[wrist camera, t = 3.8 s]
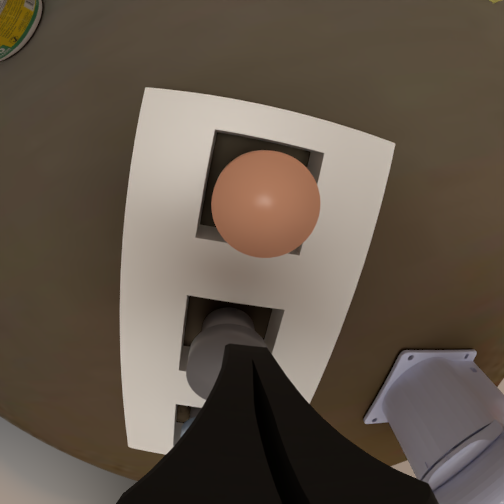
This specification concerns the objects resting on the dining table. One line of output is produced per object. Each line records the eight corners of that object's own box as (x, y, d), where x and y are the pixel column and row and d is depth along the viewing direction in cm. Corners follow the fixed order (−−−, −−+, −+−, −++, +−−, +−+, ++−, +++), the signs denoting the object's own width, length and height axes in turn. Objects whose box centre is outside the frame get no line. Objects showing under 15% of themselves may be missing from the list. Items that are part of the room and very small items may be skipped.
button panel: (373, 142, 16) (395, 143, 14) (275, 441, 23) (279, 464, 21) (157, 95, 14) (145, 87, 12) (134, 424, 22) (128, 447, 19)
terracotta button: (305, 159, 15) (331, 164, 11) (287, 236, 16) (305, 265, 12) (224, 142, 14) (222, 140, 10) (209, 222, 16) (203, 248, 12)
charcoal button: (270, 305, 17) (281, 348, 13) (255, 360, 18) (261, 408, 15) (197, 294, 17) (190, 336, 13) (189, 351, 18) (183, 399, 14)
